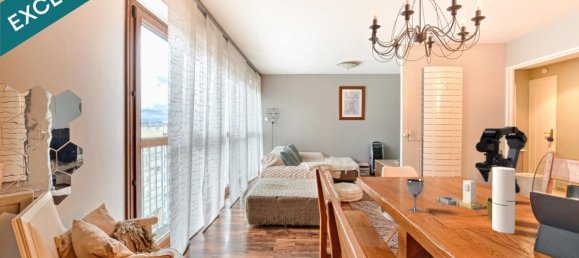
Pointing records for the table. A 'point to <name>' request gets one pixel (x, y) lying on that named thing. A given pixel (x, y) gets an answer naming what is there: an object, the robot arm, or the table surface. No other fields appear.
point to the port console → (460, 203)
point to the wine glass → (415, 191)
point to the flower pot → (489, 207)
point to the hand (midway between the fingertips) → (492, 181)
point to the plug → (469, 191)
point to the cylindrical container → (503, 200)
